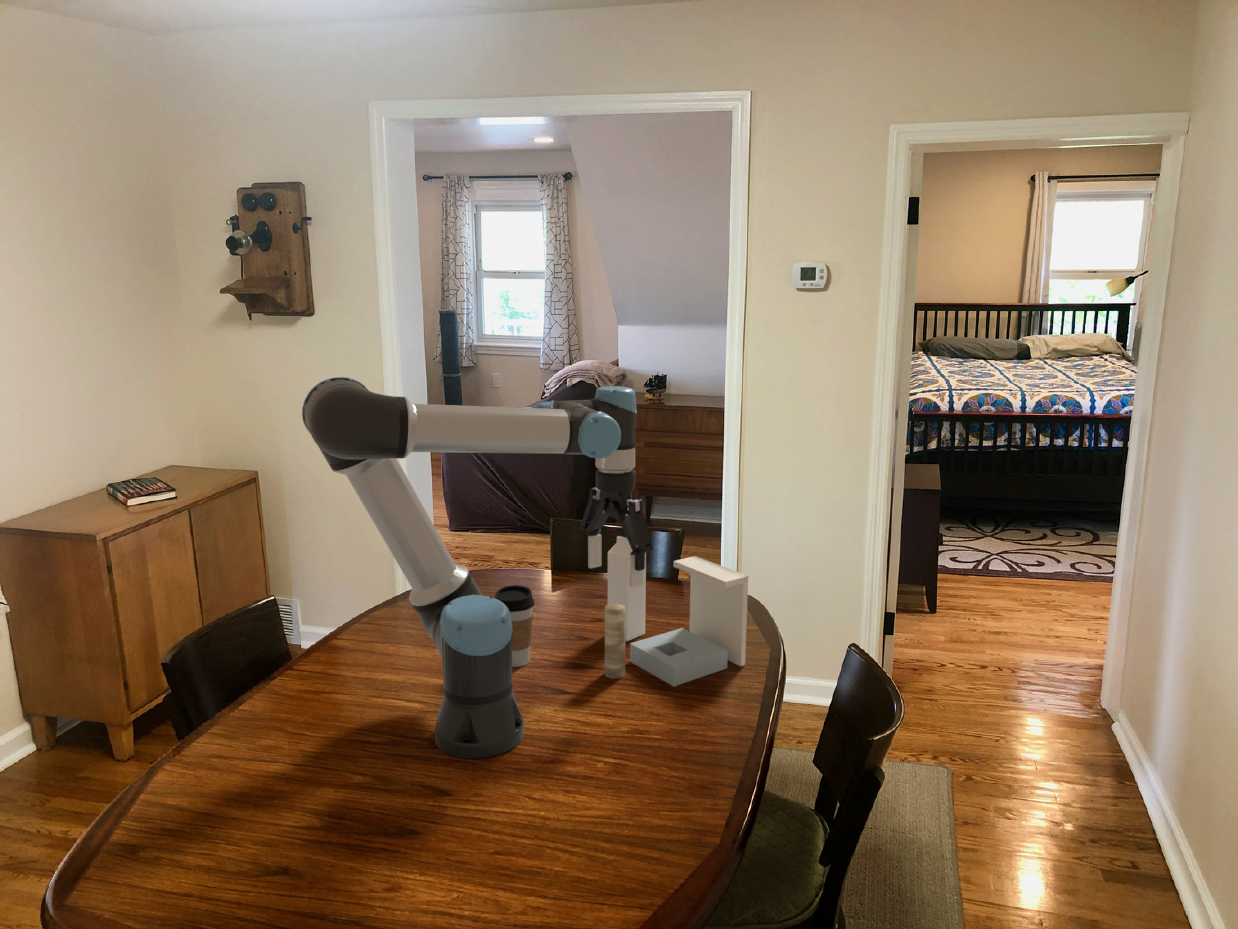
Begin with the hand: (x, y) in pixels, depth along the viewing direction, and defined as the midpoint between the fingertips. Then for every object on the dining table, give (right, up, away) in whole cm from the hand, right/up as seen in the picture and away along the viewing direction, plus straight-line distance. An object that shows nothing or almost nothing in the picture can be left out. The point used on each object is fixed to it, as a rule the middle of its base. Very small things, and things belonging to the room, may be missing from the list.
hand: (615, 576), depth 173 cm
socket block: (+13, -19, +8) cm, 25 cm away
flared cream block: (+19, -18, +13) cm, 30 cm away
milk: (+2, -16, +24) cm, 29 cm away
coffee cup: (-21, -19, +10) cm, 30 cm away
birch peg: (0, -20, +4) cm, 20 cm away
